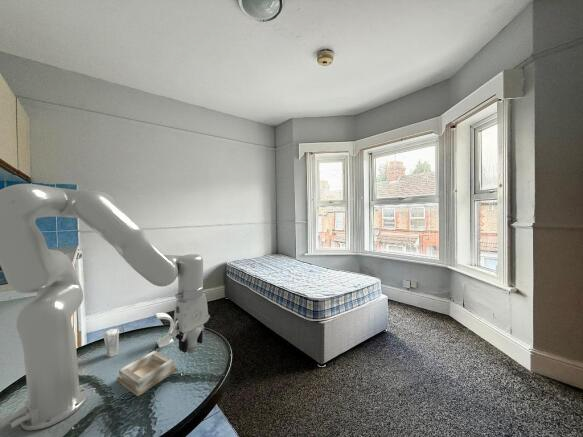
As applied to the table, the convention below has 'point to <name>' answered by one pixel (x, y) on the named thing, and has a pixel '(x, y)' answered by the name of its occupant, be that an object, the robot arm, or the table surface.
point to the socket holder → (146, 372)
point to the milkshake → (112, 342)
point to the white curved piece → (167, 338)
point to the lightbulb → (192, 339)
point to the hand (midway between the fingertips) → (191, 345)
